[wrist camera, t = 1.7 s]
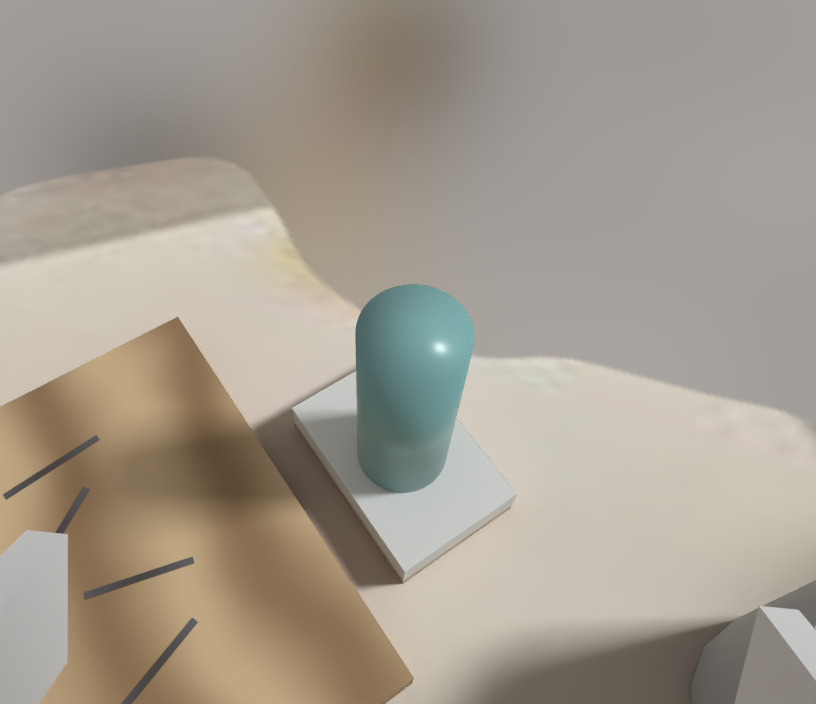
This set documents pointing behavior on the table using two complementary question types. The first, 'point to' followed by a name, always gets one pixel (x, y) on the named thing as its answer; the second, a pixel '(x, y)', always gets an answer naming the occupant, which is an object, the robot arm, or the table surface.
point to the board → (181, 543)
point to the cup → (739, 650)
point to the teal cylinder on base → (407, 430)
